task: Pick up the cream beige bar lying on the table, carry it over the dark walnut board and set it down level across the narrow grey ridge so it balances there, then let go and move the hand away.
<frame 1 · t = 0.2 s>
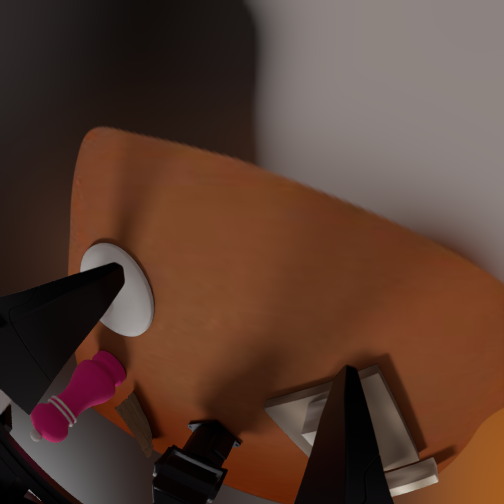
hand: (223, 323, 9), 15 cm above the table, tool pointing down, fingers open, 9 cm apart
candlestick: (116, 290, 33), on the table
wood plank: (145, 417, 42), on the table
ridge stand: (353, 434, 29), on the table
pepper mill: (112, 365, 39), on the table
cream beige bar: (385, 476, 30), on the table
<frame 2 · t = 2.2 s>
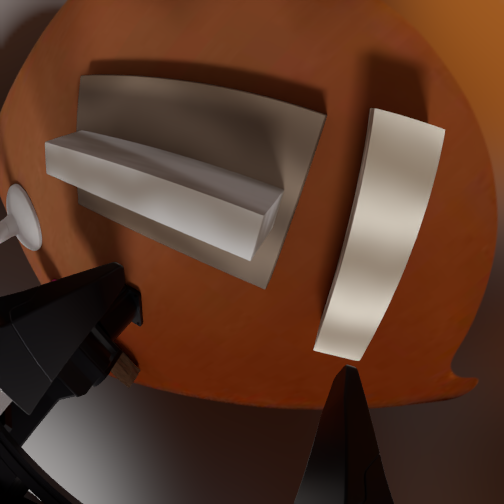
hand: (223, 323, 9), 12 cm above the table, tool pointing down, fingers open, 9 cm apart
candlestick: (25, 216, 36), on the table
wood plank: (111, 338, 43), on the table
ridge stand: (168, 162, 21), on the table
cream beige bar: (371, 236, 19), on the table
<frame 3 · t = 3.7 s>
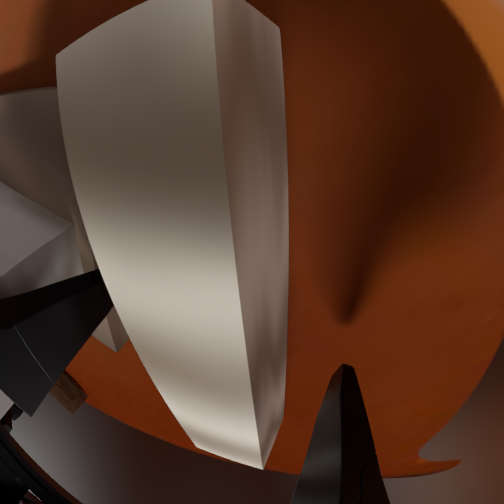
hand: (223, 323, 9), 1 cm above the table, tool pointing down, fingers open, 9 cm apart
wood plank: (57, 363, 36), on the table
ridge stand: (16, 190, 13), on the table
cream beige bar: (239, 295, 11), on the table
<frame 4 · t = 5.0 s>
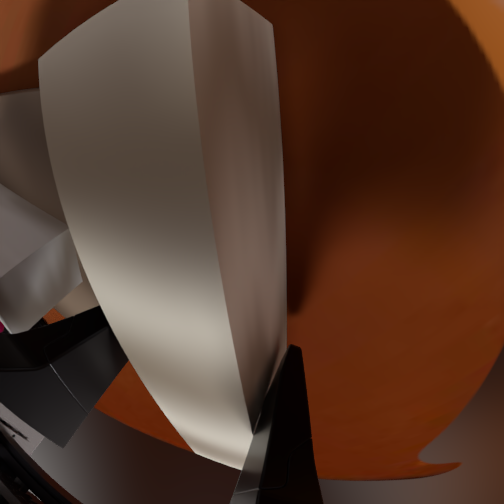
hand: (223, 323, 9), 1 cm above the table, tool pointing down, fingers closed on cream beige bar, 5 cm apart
ridge stand: (14, 191, 13), on the table
cream beige bar: (235, 301, 10), on the table, touching gripper
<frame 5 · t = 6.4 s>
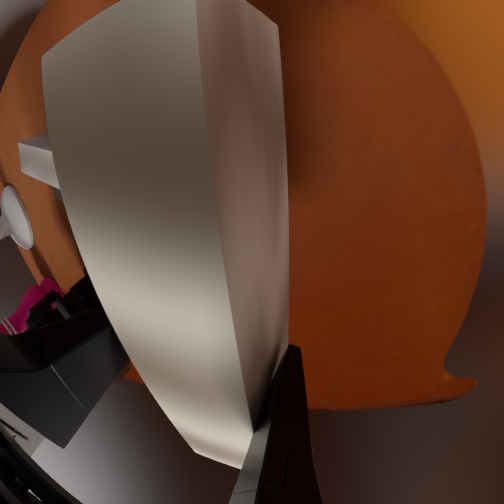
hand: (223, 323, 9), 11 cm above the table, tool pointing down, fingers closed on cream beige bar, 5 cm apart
candlestick: (18, 217, 37), on the table
ridge stand: (127, 153, 20), on the table
pepper mill: (56, 289, 43), on the table
cream beige bar: (236, 301, 10), point 9 cm above the table, touching gripper
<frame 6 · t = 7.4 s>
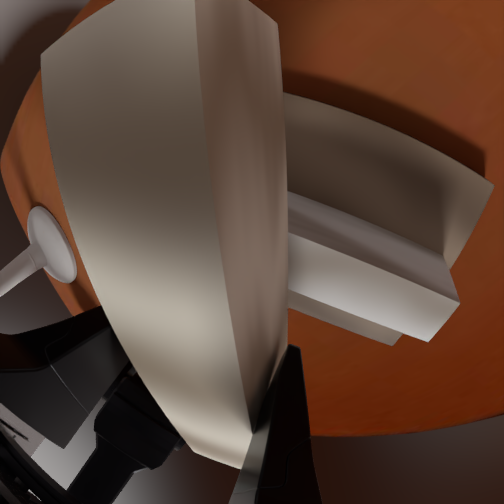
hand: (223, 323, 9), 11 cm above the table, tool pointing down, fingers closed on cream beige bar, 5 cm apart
candlestick: (52, 244, 34), on the table
ridge stand: (294, 206, 18), on the table
cream beige bar: (235, 300, 10), point 9 cm above the table, touching gripper
when the fingers open (8 cm above the table, at t = 8.7 s): cream beige bar stays where it is, resting on ridge stand.
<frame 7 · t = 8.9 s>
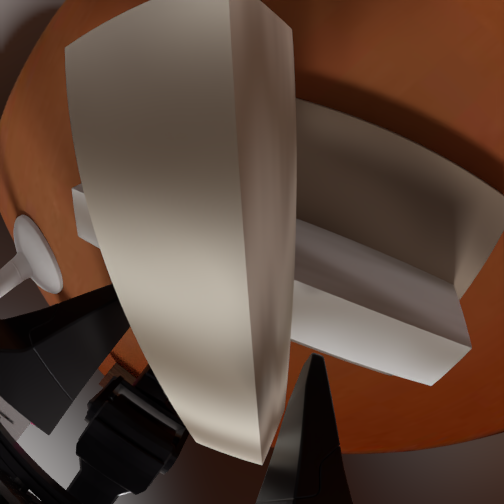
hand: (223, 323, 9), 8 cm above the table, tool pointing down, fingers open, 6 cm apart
candlestick: (38, 253, 31), on the table
wood plank: (154, 391, 39), on the table
ridge stand: (283, 226, 16), on the table
cream beige bar: (242, 290, 11), point 6 cm above the table, touching ridge stand
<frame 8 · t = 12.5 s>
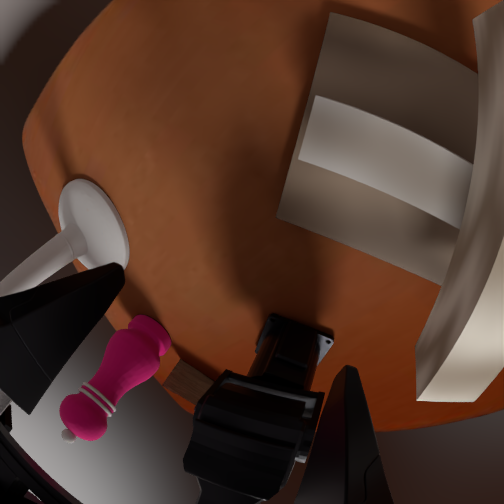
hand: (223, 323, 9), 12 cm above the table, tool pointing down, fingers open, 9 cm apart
candlestick: (93, 228, 29), on the table
wood plank: (224, 387, 37), on the table
ridge stand: (460, 181, 14), on the table
pepper mill: (153, 330, 35), on the table
cream beige bar: (497, 216, 9), point 6 cm above the table, touching ridge stand
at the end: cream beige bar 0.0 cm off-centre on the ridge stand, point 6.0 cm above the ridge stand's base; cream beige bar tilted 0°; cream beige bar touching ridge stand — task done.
